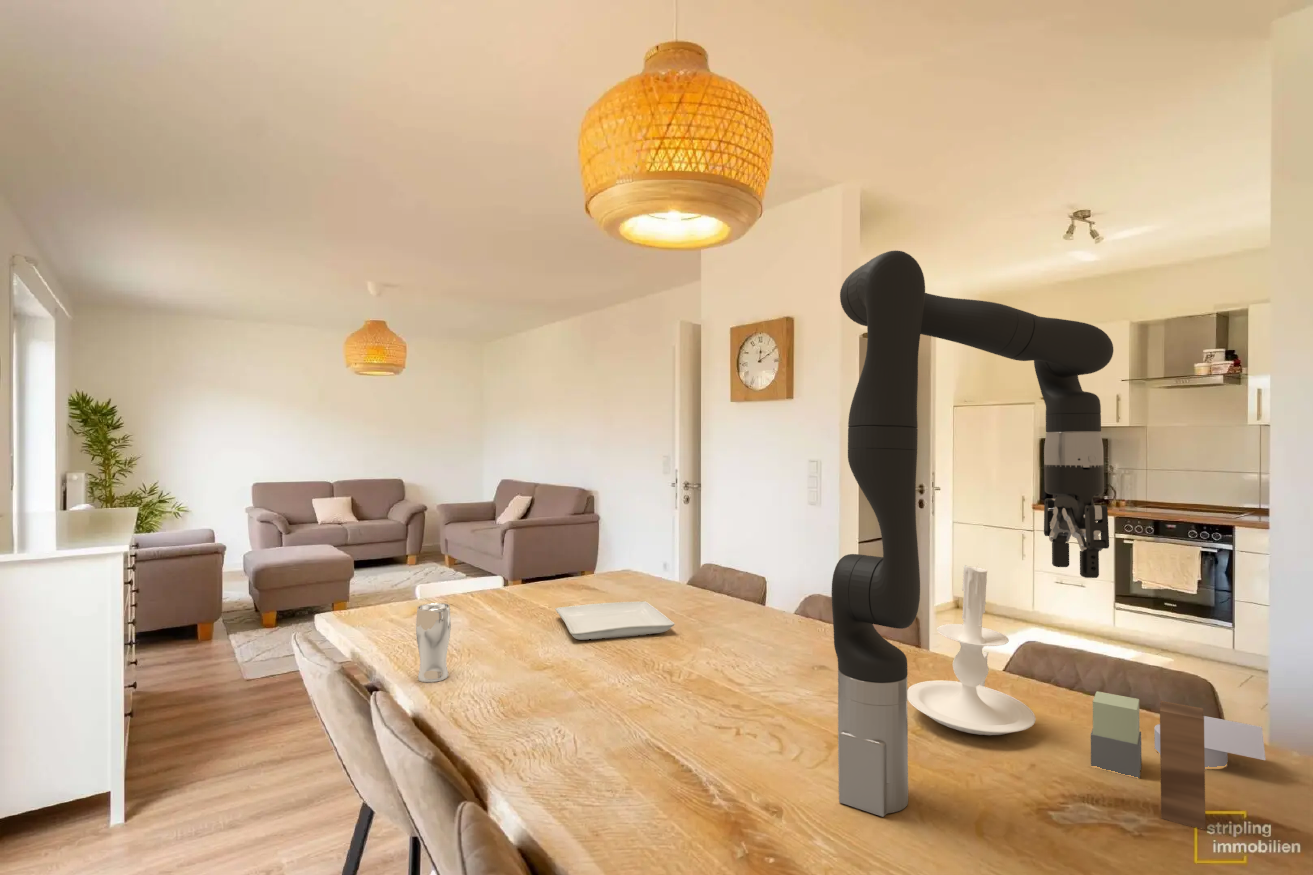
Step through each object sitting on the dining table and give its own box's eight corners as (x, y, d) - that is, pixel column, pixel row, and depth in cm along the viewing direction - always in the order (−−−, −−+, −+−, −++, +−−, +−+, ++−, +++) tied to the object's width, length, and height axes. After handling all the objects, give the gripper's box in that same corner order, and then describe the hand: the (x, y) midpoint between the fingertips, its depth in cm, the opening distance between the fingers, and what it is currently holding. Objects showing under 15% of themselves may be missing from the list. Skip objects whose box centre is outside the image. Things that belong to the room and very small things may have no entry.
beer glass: (408, 679, 141) (408, 607, 141) (433, 670, 147) (434, 601, 147) (432, 685, 138) (433, 611, 138) (457, 675, 144) (457, 604, 144)
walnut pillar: (1205, 830, 86) (1204, 719, 86) (1161, 818, 88) (1159, 710, 89) (1204, 814, 89) (1203, 708, 89) (1161, 803, 92) (1160, 700, 92)
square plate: (554, 619, 192) (554, 606, 192) (646, 612, 200) (646, 599, 200) (571, 646, 166) (571, 630, 166) (676, 637, 174) (676, 621, 174)
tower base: (1139, 779, 99) (1139, 745, 99) (1090, 767, 103) (1090, 734, 103) (1141, 764, 104) (1141, 731, 104) (1095, 753, 107) (1094, 721, 107)
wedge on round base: (1259, 760, 105) (1155, 738, 113) (1258, 717, 105) (1154, 698, 113) (1266, 783, 98) (1154, 758, 105) (1265, 736, 98) (1153, 715, 106)
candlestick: (1045, 710, 124) (1053, 559, 123) (1024, 764, 104) (1034, 585, 103) (928, 680, 137) (935, 543, 135) (890, 724, 117) (897, 564, 115)
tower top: (1137, 744, 99) (1136, 709, 99) (1092, 734, 103) (1092, 701, 103) (1139, 731, 104) (1139, 699, 104) (1096, 722, 107) (1096, 691, 107)
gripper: (1026, 461, 108) (1027, 563, 108) (1070, 463, 94) (1071, 580, 94) (1076, 461, 107) (1077, 564, 107) (1128, 463, 93) (1129, 581, 93)
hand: (1074, 571), depth 100 cm, fingers open, 8 cm apart
